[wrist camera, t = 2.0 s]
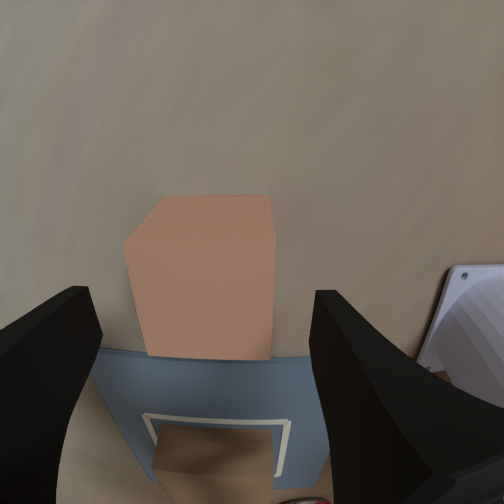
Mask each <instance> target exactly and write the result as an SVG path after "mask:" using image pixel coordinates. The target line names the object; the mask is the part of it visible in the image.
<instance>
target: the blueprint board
mask: <svg viewBox="0 0 504 504" xmlns="http://www.w3.org/2000/svg"><path fill="white" fill-rule="evenodd" d="M90 373H91V375H92V377H93V379H94V382H95V384H96V386H97V388H98V390H99V392H100V394H101V396H102V398H103V400H104V402H105V404H106V406H107V408H108V410H109V412H110V413H111V415H112V417H113V419H114V421H115V423H116V424H117V426H118V428H119V430H120V432H121V433H122V435H123V437H124V439H125V440H126V442H127V444H128V445H129V447H130V449H131V450H132V452H133V454H134V455H135V457H136V458H137V460H138V461H139V463H140V465H141V466H142V468H143V469H144V471H145V472H146V474H147V475H148V477H149V478H150V480H151V481H156V482H159V481H158V479H157V478H156V476H155V474H154V473H153V471H152V470H151V467H152V462H153V457H154V453H155V448H156V444H157V439H158V435H159V430H160V426H161V423H162V424H171V425H181V426H193V427H207V428H228V429H272V435H273V460H274V481H273V487H272V489H287V488H303V487H314V486H315V484H316V482H317V480H318V478H319V475H320V473H321V471H322V469H323V467H324V464H325V462H326V460H327V458H328V455H329V453H330V448H329V440H328V434H327V429H326V425H325V420H324V416H323V412H322V408H321V404H320V400H319V396H318V392H317V388H316V384H315V379H314V375H313V371H312V365H311V357H273V358H271V360H217V359H193V358H175V357H161V356H149V355H148V353H144V352H133V351H123V350H114V349H105V348H99V350H98V354H97V357H96V360H95V362H94V364H93V367H92V369H91V371H90Z"/></svg>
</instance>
